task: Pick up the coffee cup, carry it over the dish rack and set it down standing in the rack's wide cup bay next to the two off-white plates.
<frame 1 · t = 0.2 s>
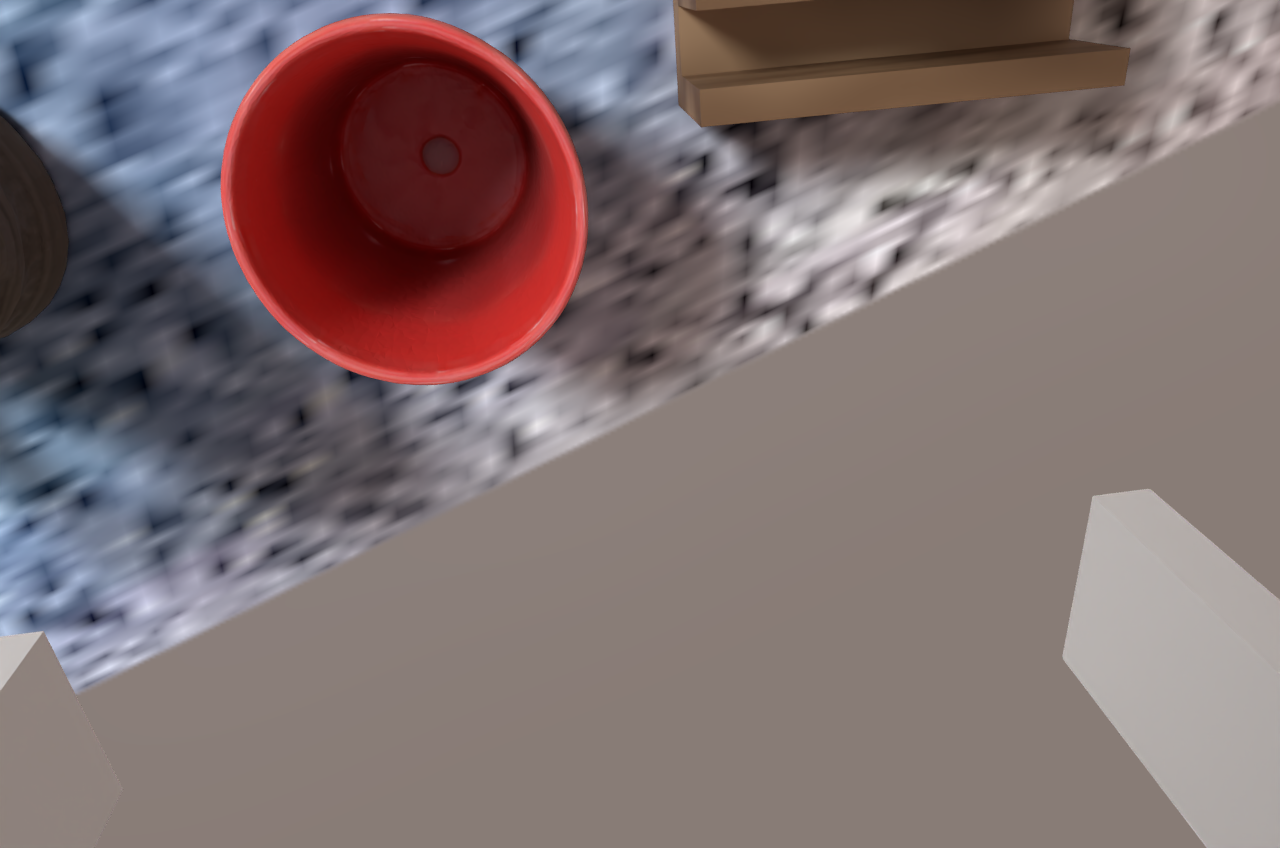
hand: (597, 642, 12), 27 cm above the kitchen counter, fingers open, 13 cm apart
flower pot: (439, 154, 35), on the kitchen counter
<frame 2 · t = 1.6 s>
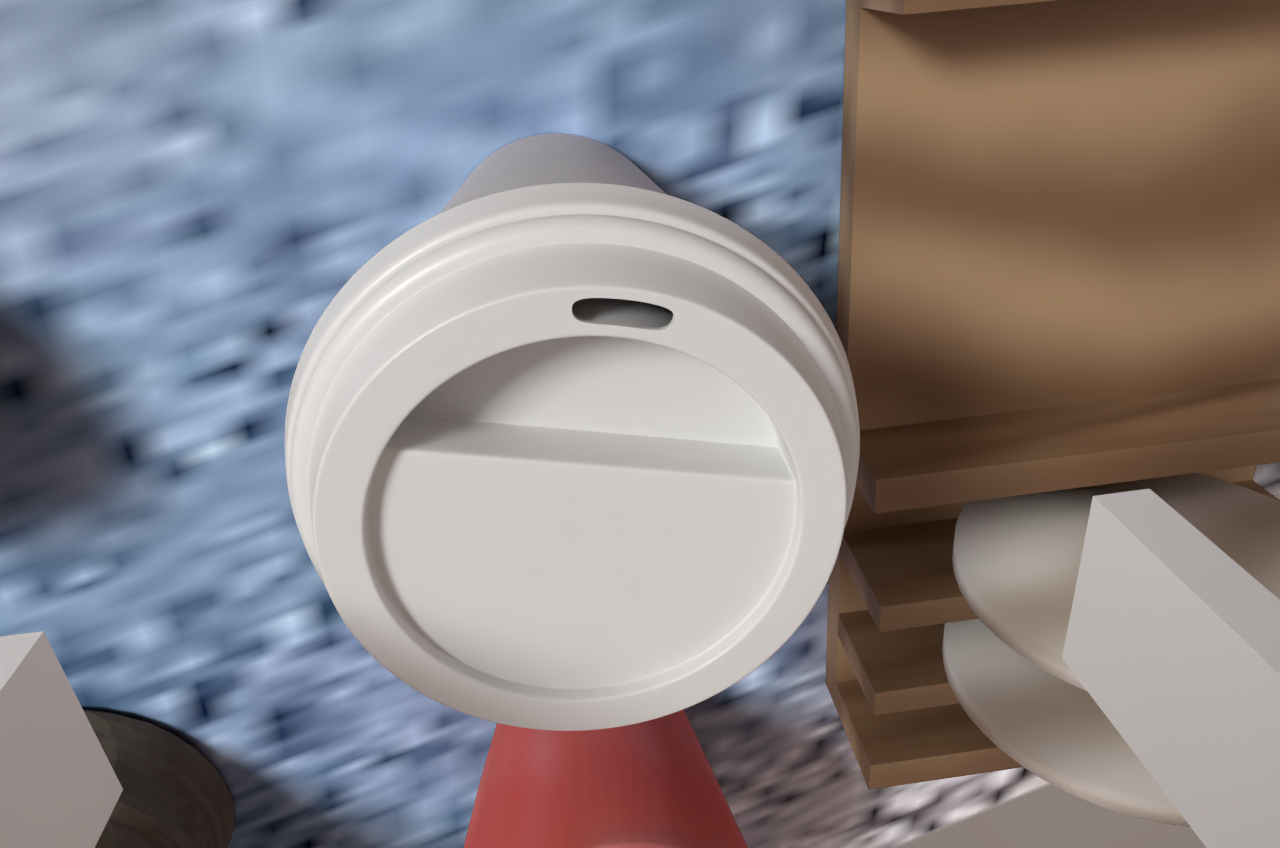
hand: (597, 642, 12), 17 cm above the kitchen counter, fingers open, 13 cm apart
coffee cup: (558, 244, 27), on the kitchen counter
dish rack: (1051, 368, 30), on the kitchen counter
flower pot: (593, 728, 36), on the kitchen counter
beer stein: (75, 837, 36), on the kitchen counter
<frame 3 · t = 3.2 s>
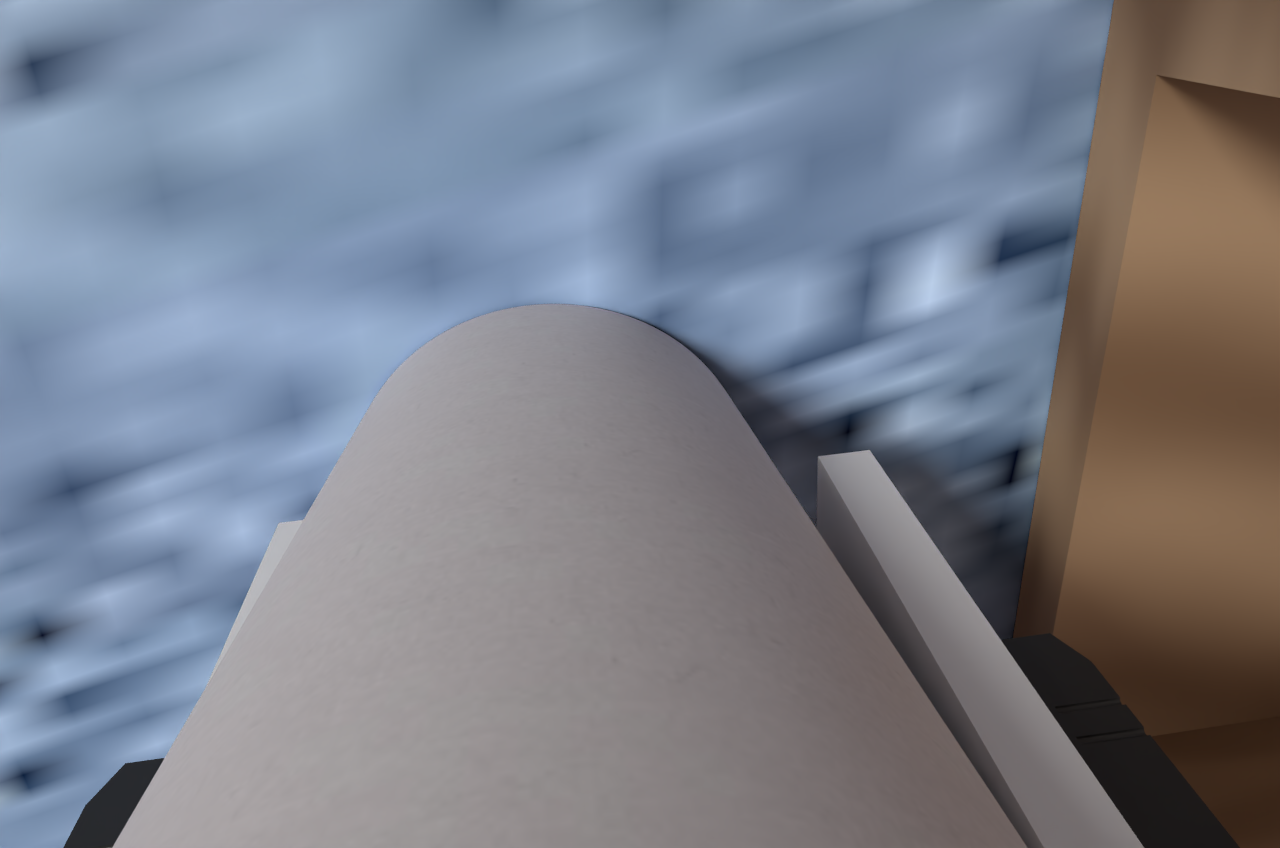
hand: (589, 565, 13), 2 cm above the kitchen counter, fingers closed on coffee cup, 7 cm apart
coffee cup: (555, 481, 15), on the kitchen counter, touching gripper
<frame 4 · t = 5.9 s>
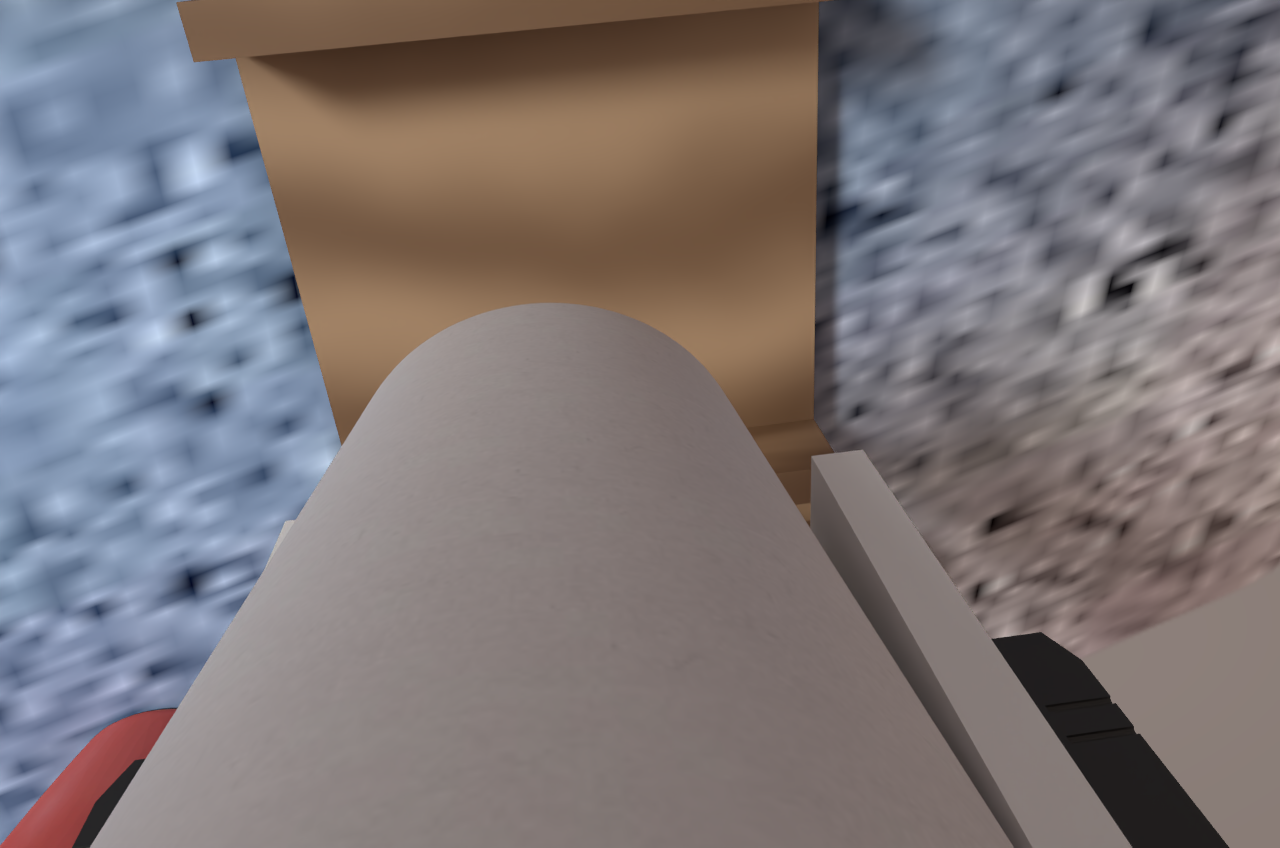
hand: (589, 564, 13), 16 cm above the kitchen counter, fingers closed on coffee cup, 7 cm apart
coffee cup: (553, 479, 15), point 13 cm above the kitchen counter, touching gripper, hand
dish rack: (580, 408, 29), on the kitchen counter
flower pot: (191, 773, 35), on the kitchen counter
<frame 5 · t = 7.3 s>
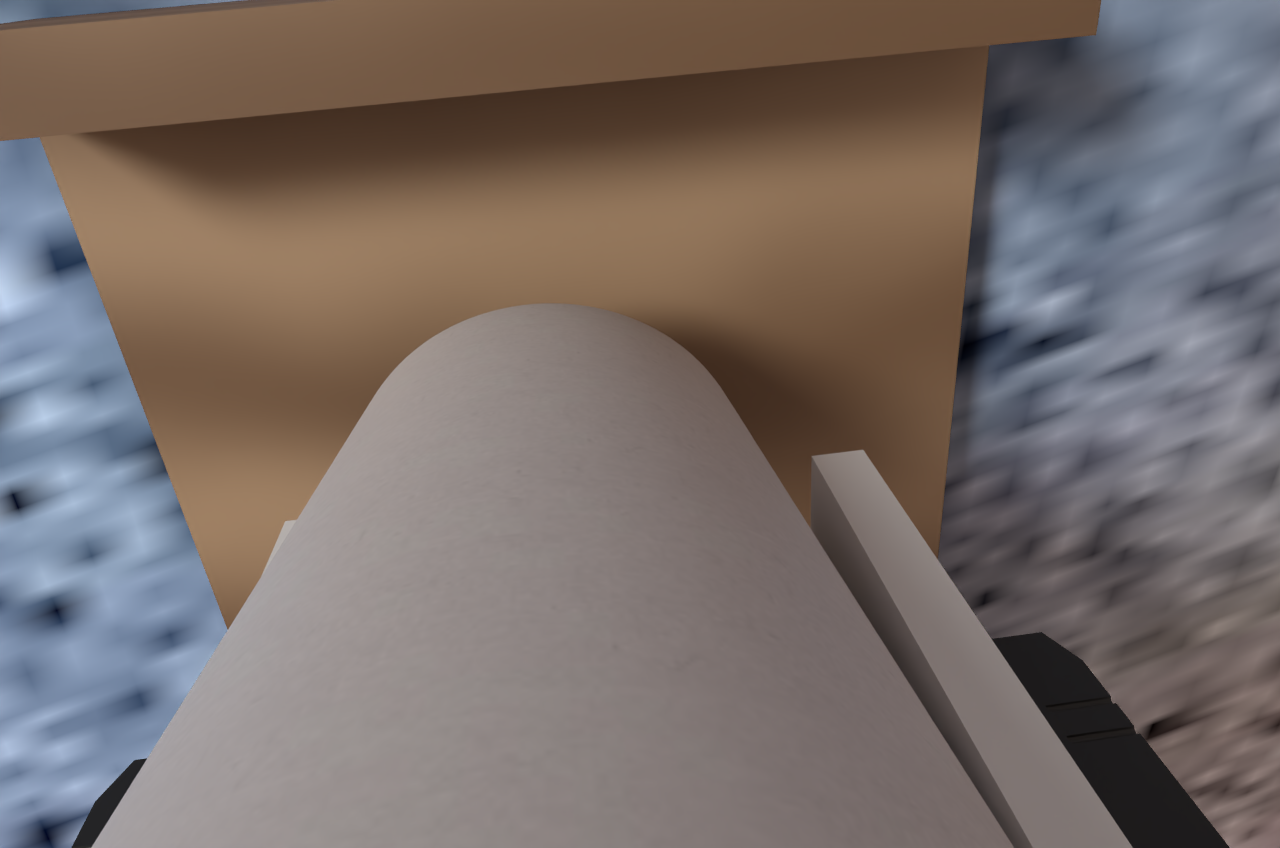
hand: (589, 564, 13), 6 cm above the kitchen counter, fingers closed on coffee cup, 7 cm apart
coffee cup: (553, 480, 15), point 3 cm above the kitchen counter, touching gripper, hand
dish rack: (596, 606, 21), on the kitchen counter
when the fingers open (3 cm above the kitchen counter, at t = 8.0 s): coffee cup stays where it is, resting on dish rack.
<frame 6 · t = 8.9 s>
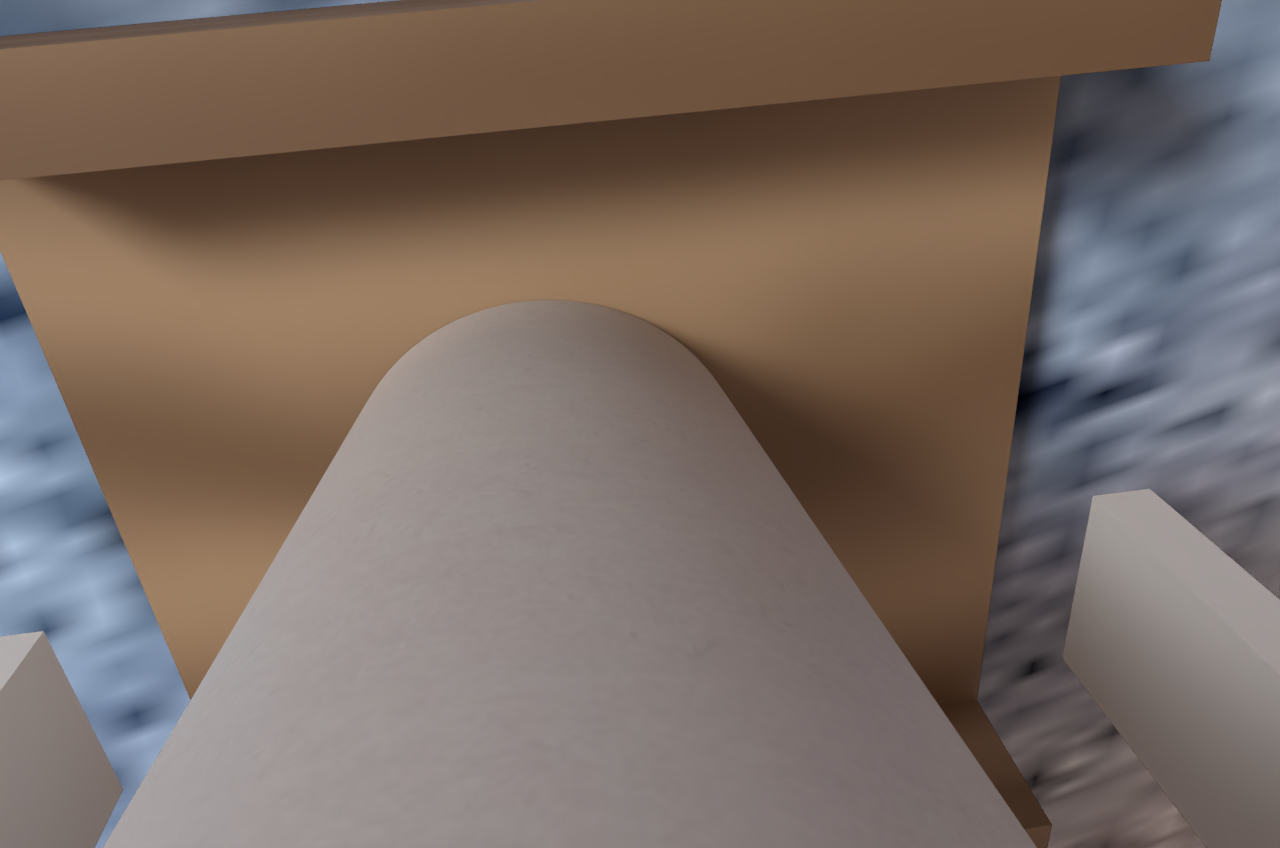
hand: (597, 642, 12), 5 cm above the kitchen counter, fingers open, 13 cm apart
coffee cup: (551, 477, 15), point 1 cm above the kitchen counter, touching dish rack
dish rack: (607, 679, 19), on the kitchen counter
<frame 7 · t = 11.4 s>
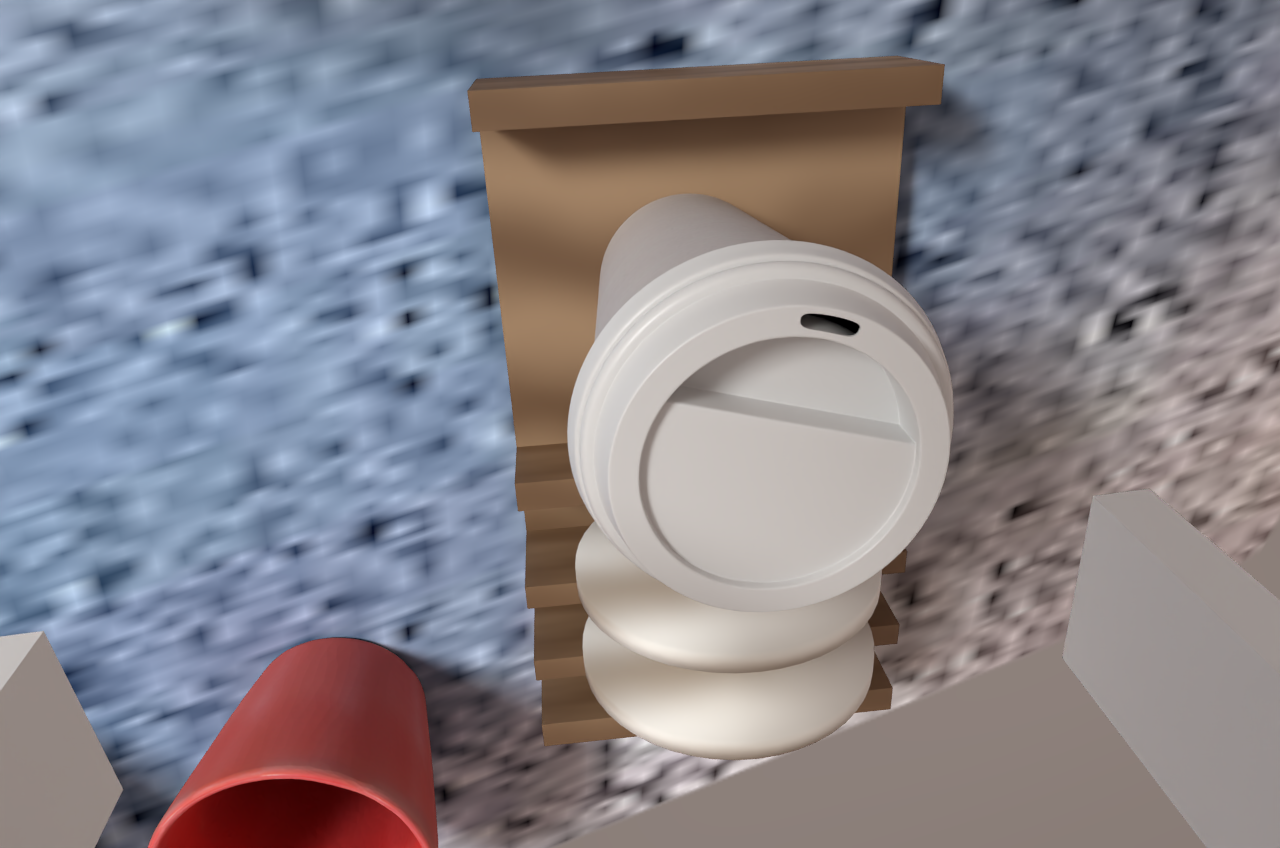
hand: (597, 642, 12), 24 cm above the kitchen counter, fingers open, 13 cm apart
coffee cup: (684, 278, 34), point 1 cm above the kitchen counter, touching dish rack
dish rack: (696, 401, 37), on the kitchen counter
flower pot: (345, 696, 42), on the kitchen counter
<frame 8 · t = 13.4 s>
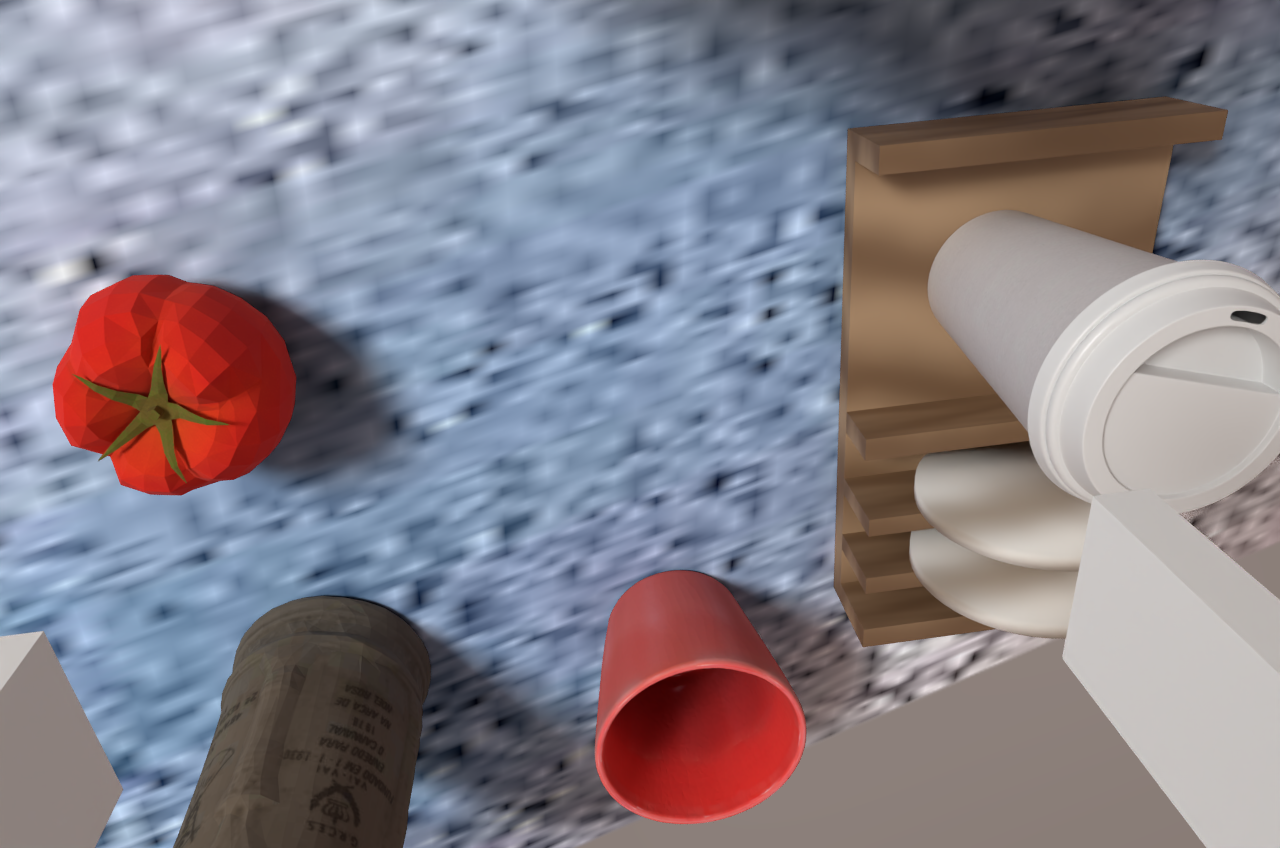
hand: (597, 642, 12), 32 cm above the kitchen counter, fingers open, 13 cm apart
coffee cup: (990, 275, 43), point 1 cm above the kitchen counter, touching dish rack
dish rack: (979, 371, 47), on the kitchen counter
flower pot: (674, 618, 53), on the kitchen counter
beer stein: (320, 693, 52), on the kitchen counter
tomato: (206, 346, 42), on the kitchen counter
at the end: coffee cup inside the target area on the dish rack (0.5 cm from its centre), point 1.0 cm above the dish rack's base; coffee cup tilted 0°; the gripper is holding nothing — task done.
